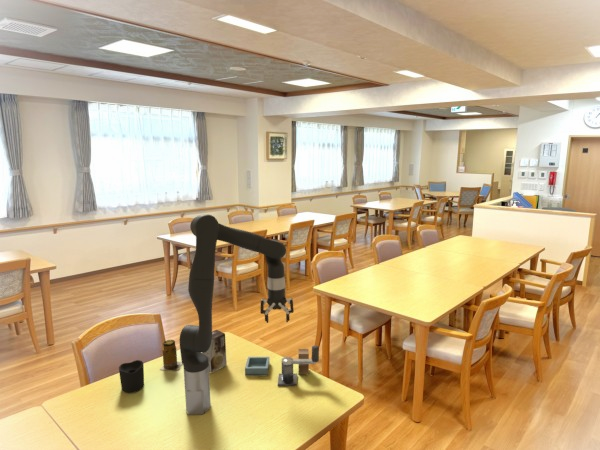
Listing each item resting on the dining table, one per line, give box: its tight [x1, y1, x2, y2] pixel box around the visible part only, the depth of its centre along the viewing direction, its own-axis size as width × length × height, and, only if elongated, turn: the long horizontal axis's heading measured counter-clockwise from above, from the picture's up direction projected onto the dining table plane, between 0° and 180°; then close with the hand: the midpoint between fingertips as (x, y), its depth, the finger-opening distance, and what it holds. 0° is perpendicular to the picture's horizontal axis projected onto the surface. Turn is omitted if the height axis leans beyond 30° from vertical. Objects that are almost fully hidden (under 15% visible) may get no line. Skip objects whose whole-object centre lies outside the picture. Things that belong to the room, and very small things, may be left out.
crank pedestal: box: [277, 364, 298, 387], centre depth 176 cm, size 24×8×8 cm, turn 0°
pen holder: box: [118, 359, 145, 394], centre depth 164 cm, size 9×9×10 cm
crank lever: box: [281, 345, 320, 366], centre depth 167 cm, size 16×5×7 cm, turn 90°
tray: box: [244, 356, 270, 377], centre depth 178 cm, size 10×10×4 cm
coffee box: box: [201, 329, 227, 374], centre depth 179 cm, size 9×6×16 cm
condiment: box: [160, 339, 183, 371], centre depth 180 cm, size 7×8×12 cm
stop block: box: [298, 348, 310, 375], centre depth 175 cm, size 4×4×10 cm
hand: (277, 321), depth 170 cm, fingers open, 8 cm apart
